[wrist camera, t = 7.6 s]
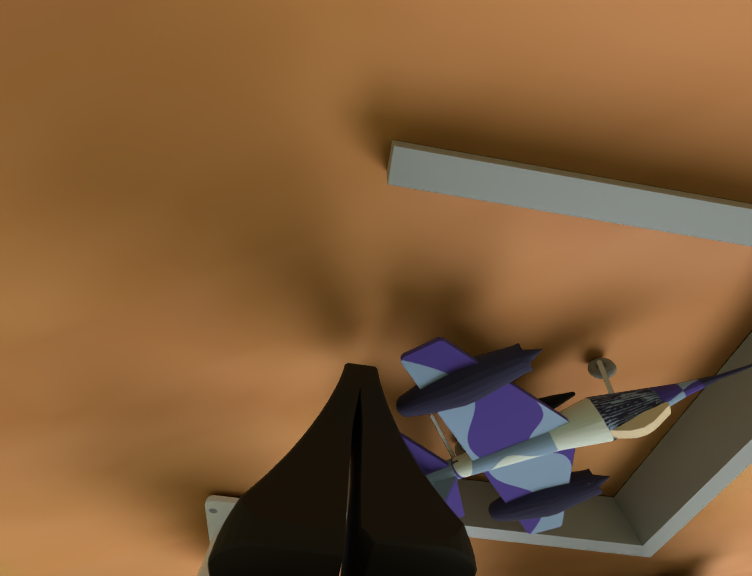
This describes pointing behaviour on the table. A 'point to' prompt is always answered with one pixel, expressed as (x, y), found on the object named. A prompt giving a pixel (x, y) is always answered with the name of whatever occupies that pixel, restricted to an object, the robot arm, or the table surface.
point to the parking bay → (698, 423)
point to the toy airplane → (522, 428)
